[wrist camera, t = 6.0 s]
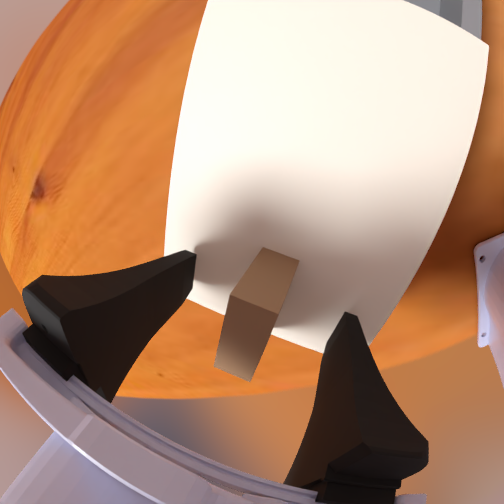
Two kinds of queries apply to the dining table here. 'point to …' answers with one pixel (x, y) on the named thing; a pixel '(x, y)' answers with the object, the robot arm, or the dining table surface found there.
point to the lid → (316, 162)
